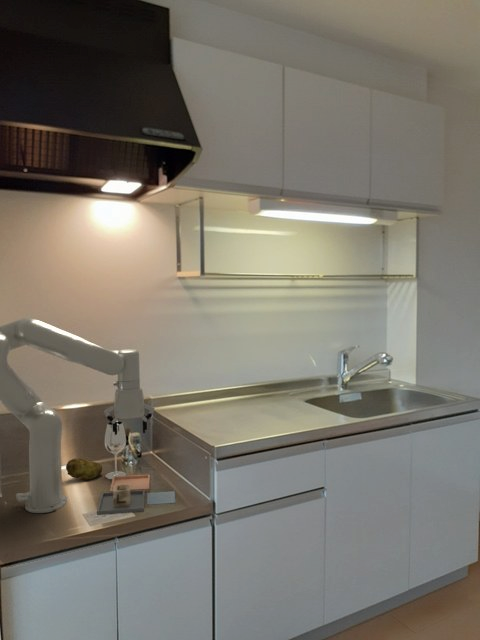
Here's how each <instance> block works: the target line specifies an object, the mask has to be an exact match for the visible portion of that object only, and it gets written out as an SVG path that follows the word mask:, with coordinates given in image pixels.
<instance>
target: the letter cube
mask: <svg viewBox="0 0 480 640" xmlns="http://www.w3.org/2000/svg"><path fill="white" fill-rule="evenodd" d="M121 506H130V485H115V486H114V490H113V507H121Z"/></svg>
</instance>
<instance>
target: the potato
mask: <svg viewBox="0 0 480 640" xmlns="http://www.w3.org/2000/svg"><path fill="white" fill-rule="evenodd" d="M65 469H66V471H67V475H69V476H70V478H71V477H72V478H74V479H80V480H84V481H85V480H87V481H88V480H92V479H95V478H97V477H99V476H100V475H101V474H102V471H103V465H102V464H100V463H99V462H95V461H91V460H88V459H85V458H81V457H75V458H72V459H70V460H68V461H67V463H66V465H65Z"/></svg>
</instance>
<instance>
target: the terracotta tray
mask: <svg viewBox="0 0 480 640" xmlns="http://www.w3.org/2000/svg"><path fill="white" fill-rule="evenodd" d="M150 477H151V476H150V474H136V475H134V474H133V475H126V476H115V477H113V480H111V485H110V490H109V492H113V490H114V486H115V485H130V491H137V490H145V493H150V483H151V482H150V481H151V479H150Z"/></svg>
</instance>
